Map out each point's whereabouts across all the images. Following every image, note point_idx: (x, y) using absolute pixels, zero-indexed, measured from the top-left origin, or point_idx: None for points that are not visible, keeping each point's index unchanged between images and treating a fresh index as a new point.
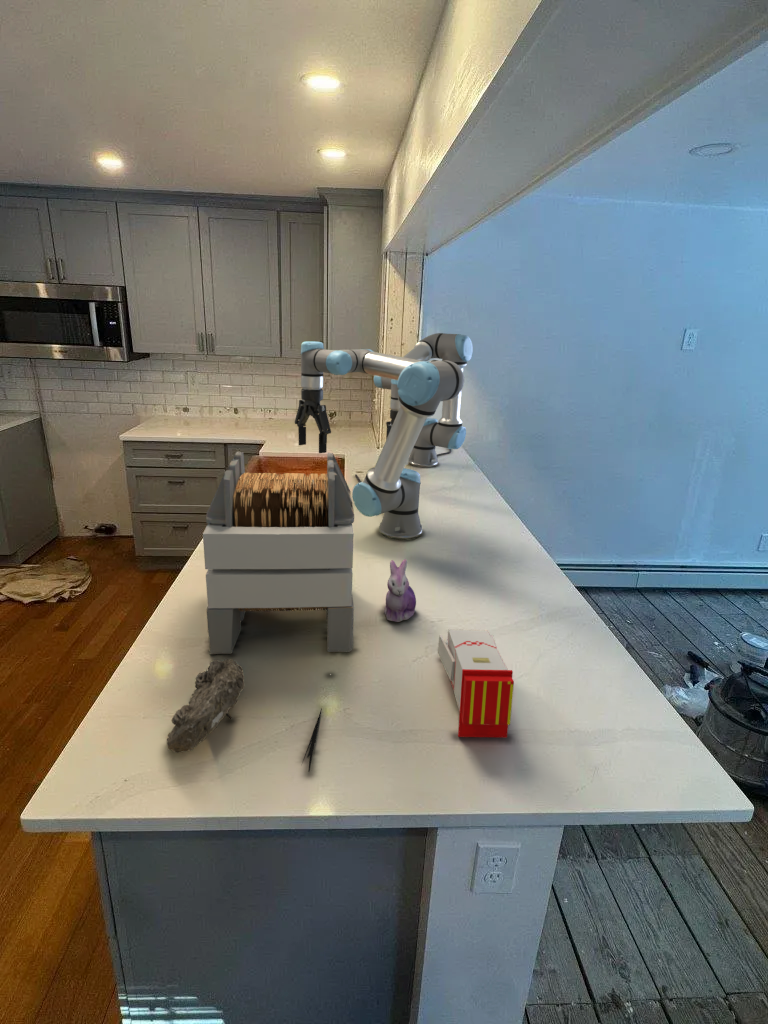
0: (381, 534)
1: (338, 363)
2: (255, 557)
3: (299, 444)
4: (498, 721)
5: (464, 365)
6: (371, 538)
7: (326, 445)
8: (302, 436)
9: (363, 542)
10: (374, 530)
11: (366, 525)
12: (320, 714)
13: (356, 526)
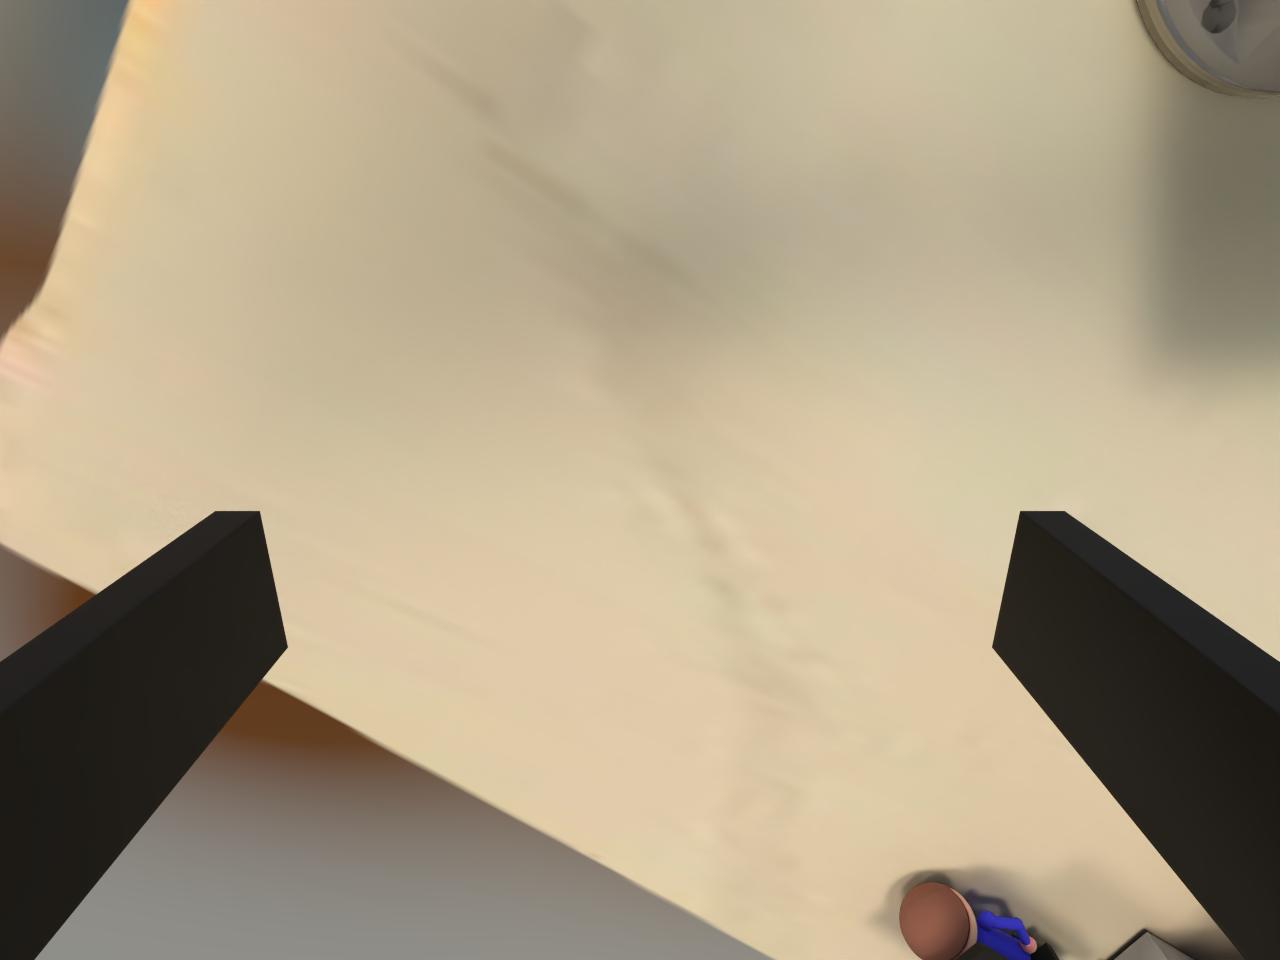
0: (1227, 93)
1: None
2: None
3: (273, 656)
4: None
5: None
6: (1200, 200)
7: (1166, 584)
8: (161, 704)
9: (1202, 293)
10: (1119, 75)
11: (1004, 62)
12: None
13: (966, 149)
